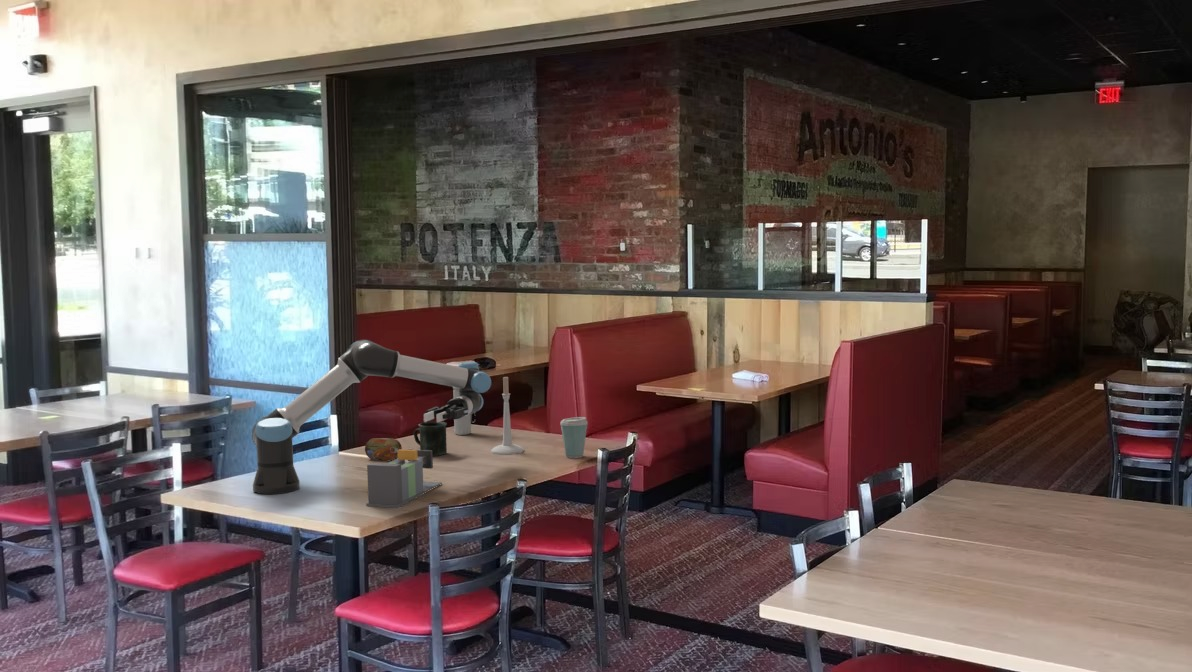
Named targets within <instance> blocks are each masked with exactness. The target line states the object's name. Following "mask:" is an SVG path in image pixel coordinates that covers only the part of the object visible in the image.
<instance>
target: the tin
mask: <svg viewBox="0 0 1192 672" xmlns="http://www.w3.org/2000/svg"><path fill="white" fill-rule="evenodd" d="M399 449H403V448H402V443H401V442H400V441H399V440H398V439H396V438H386V437H385V438H383V437H381V438H377V437H376V438H374V437H373V438H370V439H369V440H367V442H366V443H365V446H364V451H365V454H366V456H367V457H368V458H369V459H370V460H372V459H383V460H382V461H385V460H392V461H393V460H396V459H398V453H397V450H399Z"/></svg>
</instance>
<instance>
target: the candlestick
mask: <svg viewBox="0 0 1192 672" xmlns="http://www.w3.org/2000/svg"><path fill="white" fill-rule="evenodd" d="M502 381H503V382H502V383H503V384H502V385H503V393H501V395H502V399H503V423H502V425H503V426H502V428H503V429H502V430H503V431H502V444H499V445H495V446H494V447H493V448H491V450H490V452H491V453H492V454H495V455H515V454H517V455H518V454H521V453H524V450H525V449H524V448H523V447H522V446H520V445H518V444H515V443H513V438H512V428H511V427H512V426H511V425H512V424H511V415H510V414H511V412H510V402H509V400H510V395H511V393H509V377H508V376H504V377H502Z"/></svg>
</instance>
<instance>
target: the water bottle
mask: <svg viewBox="0 0 1192 672" xmlns="http://www.w3.org/2000/svg"><path fill="white" fill-rule="evenodd" d="M452 389H453V390H452V392H453V399H454V398H457V397H459V388H457V387H452ZM473 414H474V415H476V412H475V413H472V414H469V415H467V416H464V418H459V419H453V422H454V423H453V426H454V434H455V435H458V436H467V435H470V434H471V433H472V423H475V422H476V420H474V421H473V420H472V419H473V418H472V417H473V416H472V415H473Z"/></svg>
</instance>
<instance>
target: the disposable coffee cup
mask: <svg viewBox="0 0 1192 672" xmlns="http://www.w3.org/2000/svg"><path fill="white" fill-rule="evenodd" d="M559 425H560V429H561V435H562V441H563V447H564V454H565V456H566V458H570V459H580V458H583V457H584V453H585V445H586V444H585V443H586V436H587V428H588V420H587V417H585V416H574V417H569V418H563V419H562V420H561V421H560V424H559Z"/></svg>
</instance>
